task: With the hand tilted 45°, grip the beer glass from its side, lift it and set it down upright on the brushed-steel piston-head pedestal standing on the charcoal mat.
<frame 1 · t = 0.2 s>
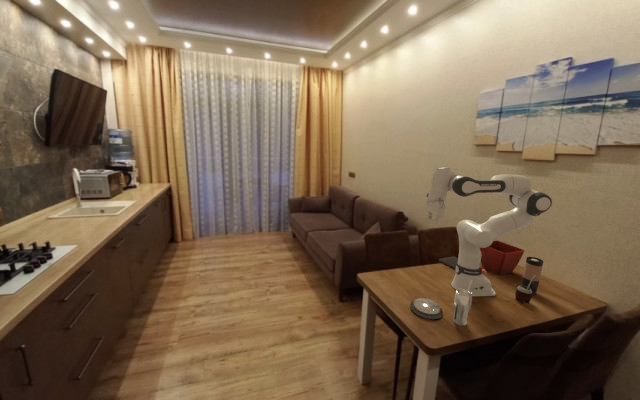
hand: (432, 221, 149), 39 cm above the table, tool pointing down, fingers open, 8 cm apart
beer glass: (459, 322, 125), on the table
plant pot: (496, 270, 182), on the table
travel mug: (527, 292, 155), on the table
hardcover book: (459, 267, 185), on the table
mate gourd: (522, 301, 145), on the table
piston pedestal: (426, 310, 132), on the table
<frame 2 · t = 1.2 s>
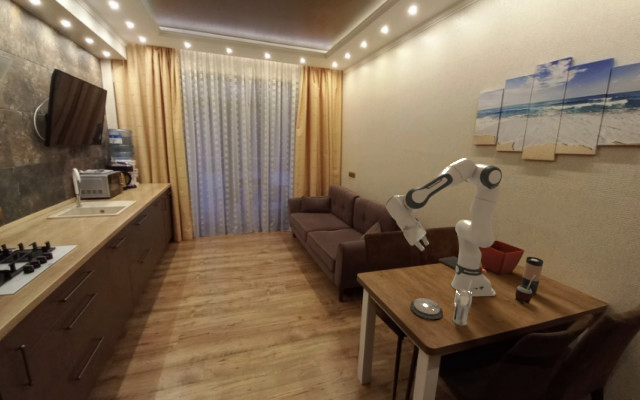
hand: (425, 247, 134), 30 cm above the table, tool tilted 45°, fingers open, 8 cm apart
nothing on the table moved.
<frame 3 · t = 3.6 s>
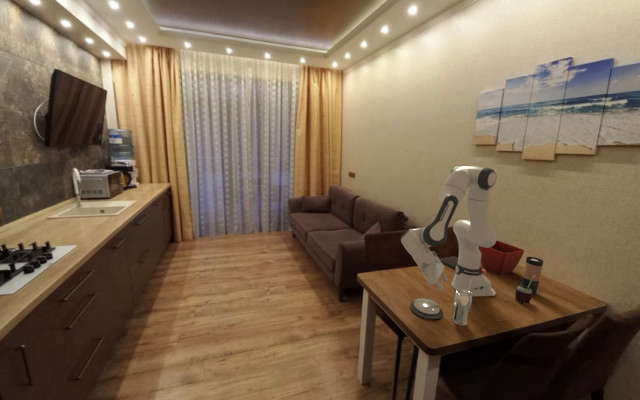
hand: (444, 285, 126), 16 cm above the table, tool tilted 45°, fingers open, 8 cm apart
nothing on the table moved.
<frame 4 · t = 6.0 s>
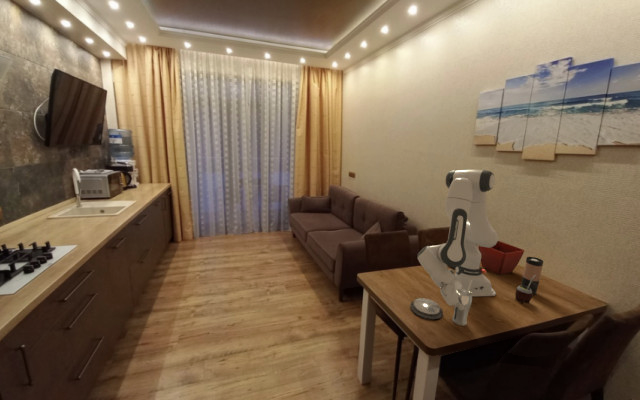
hand: (463, 304, 123), 9 cm above the table, tool tilted 45°, fingers closed on beer glass, 7 cm apart
beer glass: (459, 322, 125), on the table, touching gripper
everything else where it was.
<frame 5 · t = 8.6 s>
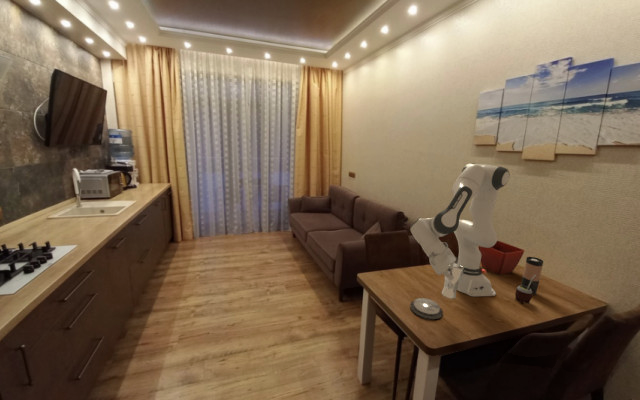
hand: (454, 276, 122), 22 cm above the table, tool tilted 45°, fingers closed on beer glass, 7 cm apart
beer glass: (448, 295, 125), point 12 cm above the table, touching gripper
everything else where it was.
when the fingers open (13 cm above the table, at t = 11.7 s): beer glass stays where it is, resting on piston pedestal.
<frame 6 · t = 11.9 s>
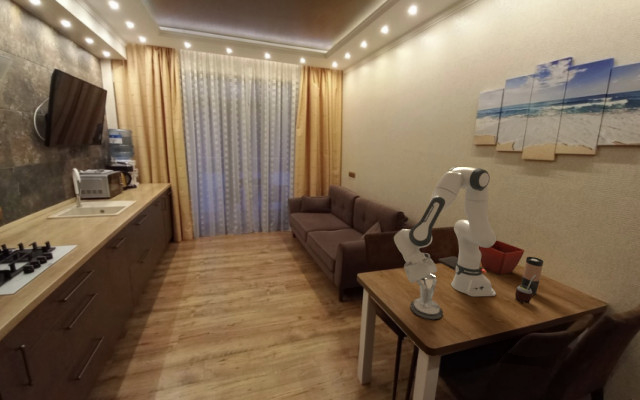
hand: (430, 286, 129), 13 cm above the table, tool tilted 45°, fingers open, 8 cm apart
beer glass: (425, 304, 132), point 3 cm above the table, touching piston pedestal
everything else where it was.
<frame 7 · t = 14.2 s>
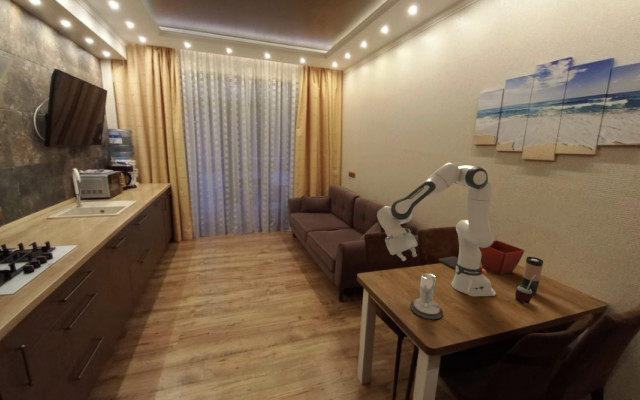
hand: (410, 258, 137), 23 cm above the table, tool tilted 45°, fingers open, 8 cm apart
nothing on the table moved.
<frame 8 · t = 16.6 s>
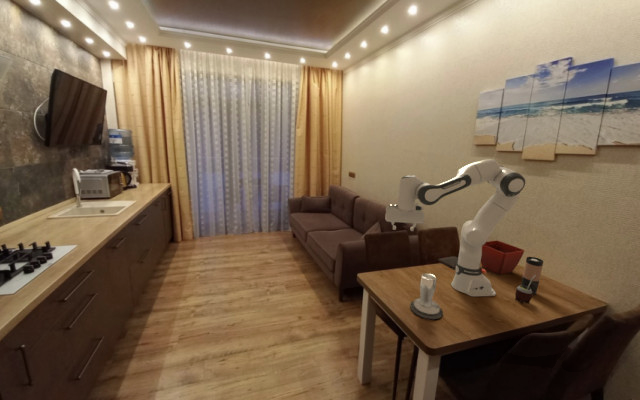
hand: (402, 230, 147), 34 cm above the table, tool pointing down, fingers open, 8 cm apart
nothing on the table moved.
at the end: beer glass 0.9 cm off-centre on the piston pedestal, point 2.8 cm above the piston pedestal's base; beer glass tilted 0°; the gripper is holding nothing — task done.
